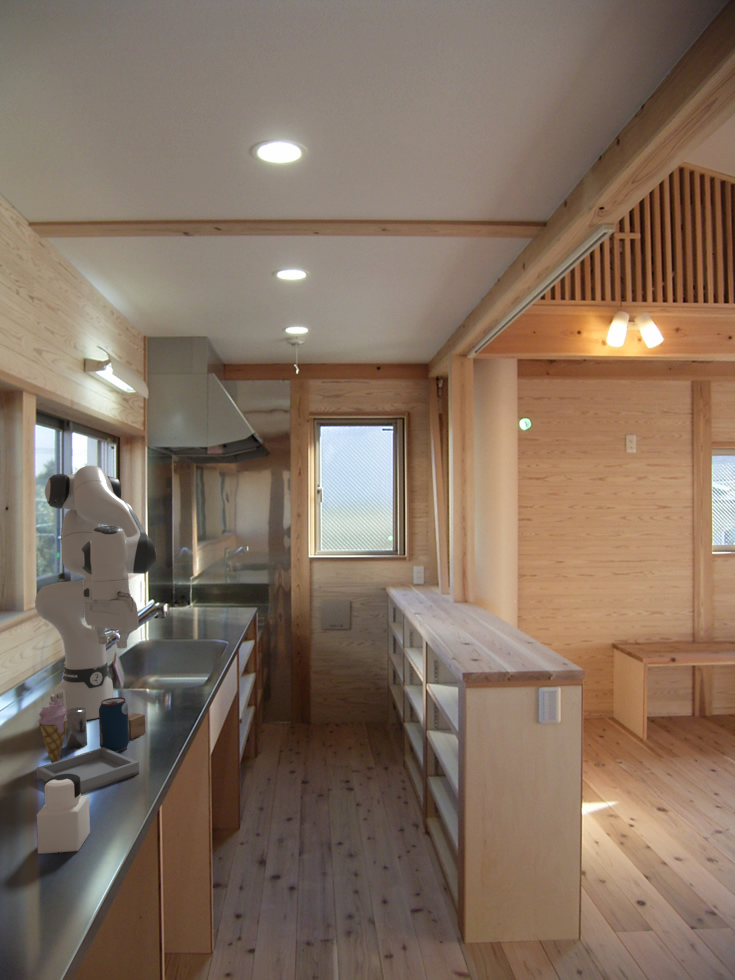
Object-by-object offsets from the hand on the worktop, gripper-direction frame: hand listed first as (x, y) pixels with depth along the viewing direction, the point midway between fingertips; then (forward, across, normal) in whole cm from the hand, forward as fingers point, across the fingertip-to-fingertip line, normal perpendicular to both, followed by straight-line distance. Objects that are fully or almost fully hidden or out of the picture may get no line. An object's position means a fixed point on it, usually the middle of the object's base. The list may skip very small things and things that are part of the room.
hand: (112, 646), depth 180 cm
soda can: (+26, 0, 0) cm, 26 cm away
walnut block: (+26, +6, -8) cm, 28 cm away
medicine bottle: (+26, -38, +32) cm, 56 cm away
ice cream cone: (+26, +2, +14) cm, 30 cm away
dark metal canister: (+26, +10, +5) cm, 28 cm away
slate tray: (+26, -12, +13) cm, 31 cm away
